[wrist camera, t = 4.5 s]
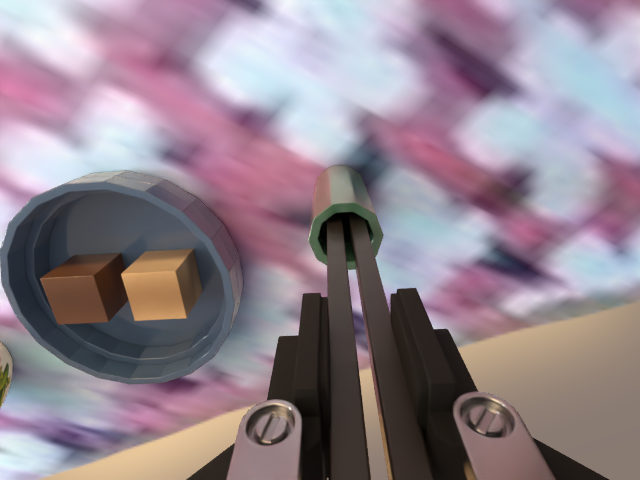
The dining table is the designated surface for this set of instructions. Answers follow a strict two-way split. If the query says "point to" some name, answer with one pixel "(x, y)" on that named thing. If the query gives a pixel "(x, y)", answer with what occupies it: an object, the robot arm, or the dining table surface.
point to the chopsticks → (388, 375)
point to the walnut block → (86, 288)
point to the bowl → (131, 241)
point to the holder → (341, 210)
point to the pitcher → (5, 372)
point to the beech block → (163, 284)
